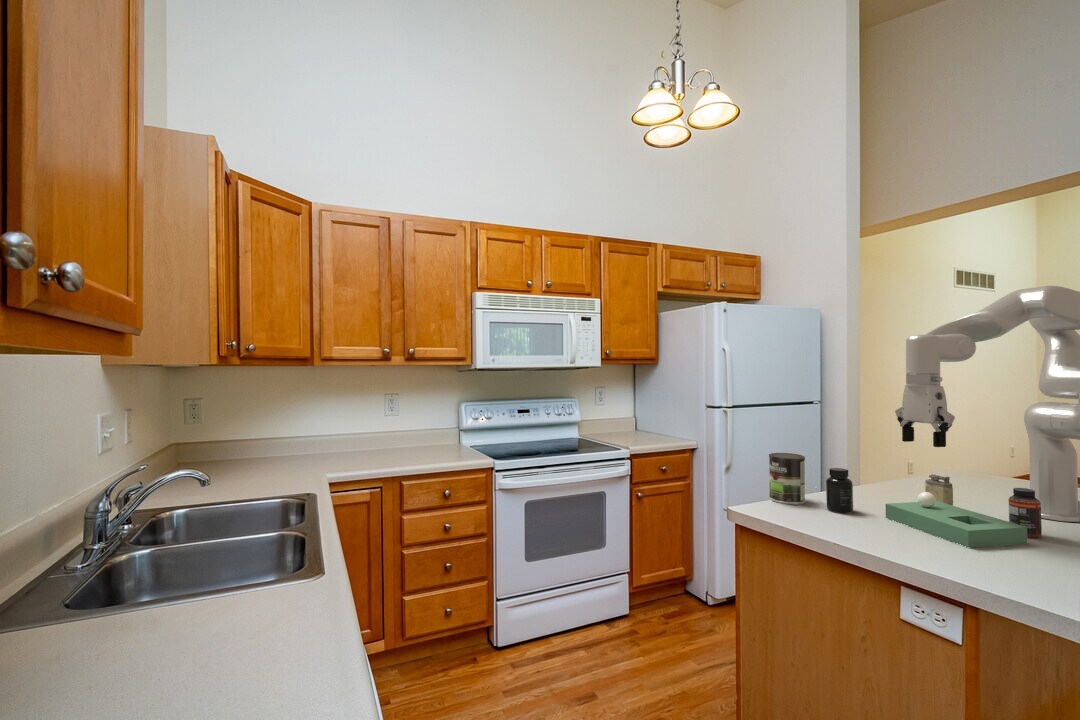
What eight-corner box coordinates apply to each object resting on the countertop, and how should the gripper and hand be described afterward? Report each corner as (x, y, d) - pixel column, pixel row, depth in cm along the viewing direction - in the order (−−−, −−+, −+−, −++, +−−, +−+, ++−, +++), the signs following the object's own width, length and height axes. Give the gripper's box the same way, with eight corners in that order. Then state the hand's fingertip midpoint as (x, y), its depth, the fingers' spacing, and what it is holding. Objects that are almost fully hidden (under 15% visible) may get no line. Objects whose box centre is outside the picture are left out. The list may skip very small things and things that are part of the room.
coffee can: (788, 506, 158) (788, 459, 158) (762, 498, 167) (761, 454, 167) (813, 502, 162) (812, 456, 162) (785, 494, 171) (785, 451, 171)
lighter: (922, 507, 156) (921, 473, 156) (930, 505, 157) (929, 472, 157) (949, 513, 149) (948, 478, 149) (956, 511, 151) (956, 477, 151)
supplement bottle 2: (1033, 532, 132) (1032, 487, 132) (1047, 539, 126) (1046, 492, 126) (1004, 530, 134) (1003, 485, 134) (1016, 537, 128) (1015, 491, 128)
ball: (926, 504, 143) (926, 490, 143) (940, 508, 140) (939, 493, 140) (913, 505, 143) (913, 490, 143) (926, 509, 139) (926, 494, 139)
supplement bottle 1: (853, 509, 154) (853, 468, 154) (853, 515, 148) (852, 472, 148) (827, 506, 158) (826, 466, 158) (825, 511, 152) (824, 470, 152)
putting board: (936, 515, 147) (936, 500, 147) (1027, 544, 124) (1027, 527, 124) (885, 518, 145) (885, 503, 145) (968, 548, 121) (968, 530, 121)
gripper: (965, 381, 133) (966, 448, 133) (908, 379, 150) (908, 439, 150) (939, 381, 132) (940, 449, 132) (884, 379, 149) (885, 439, 149)
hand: (923, 444), depth 141 cm, fingers open, 9 cm apart
